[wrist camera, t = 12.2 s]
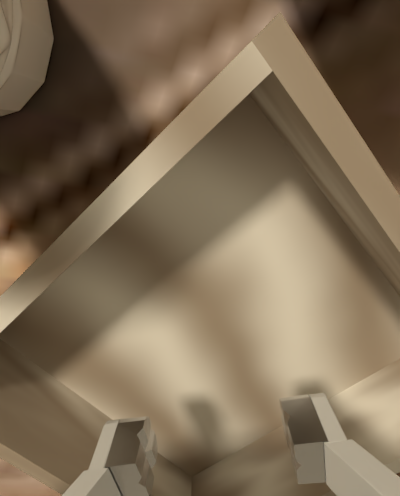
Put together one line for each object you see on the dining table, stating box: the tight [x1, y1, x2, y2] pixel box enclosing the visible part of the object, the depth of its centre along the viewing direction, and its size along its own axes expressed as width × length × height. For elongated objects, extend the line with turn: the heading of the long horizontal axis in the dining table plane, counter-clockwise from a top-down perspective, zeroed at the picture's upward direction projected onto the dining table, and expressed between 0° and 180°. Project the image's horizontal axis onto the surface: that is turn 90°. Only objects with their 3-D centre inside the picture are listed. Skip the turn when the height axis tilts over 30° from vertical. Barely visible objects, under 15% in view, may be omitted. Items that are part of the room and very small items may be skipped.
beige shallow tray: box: [0, 13, 400, 496], centre depth 13 cm, size 18×16×4 cm
